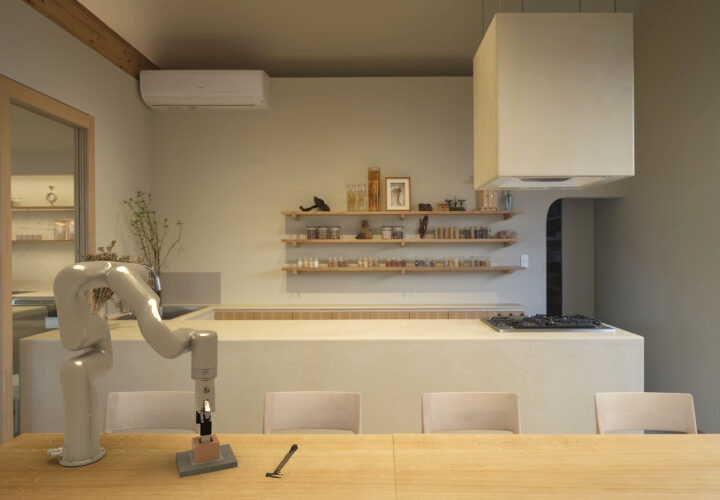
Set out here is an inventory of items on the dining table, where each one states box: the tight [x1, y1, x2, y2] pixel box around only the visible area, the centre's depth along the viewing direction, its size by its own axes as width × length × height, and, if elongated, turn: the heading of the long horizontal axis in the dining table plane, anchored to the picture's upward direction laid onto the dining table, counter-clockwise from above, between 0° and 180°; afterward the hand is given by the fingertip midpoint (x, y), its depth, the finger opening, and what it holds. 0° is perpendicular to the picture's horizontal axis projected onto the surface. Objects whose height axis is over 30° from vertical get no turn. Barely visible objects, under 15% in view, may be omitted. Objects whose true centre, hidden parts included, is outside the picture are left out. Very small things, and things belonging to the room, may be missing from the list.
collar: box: [191, 433, 220, 463], centre depth 153 cm, size 7×7×5 cm
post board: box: [175, 435, 239, 478], centre depth 153 cm, size 16×14×10 cm
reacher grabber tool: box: [265, 443, 298, 479], centre depth 153 cm, size 21×7×1 cm, turn 166°
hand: (203, 428), depth 153 cm, fingers open, 9 cm apart
